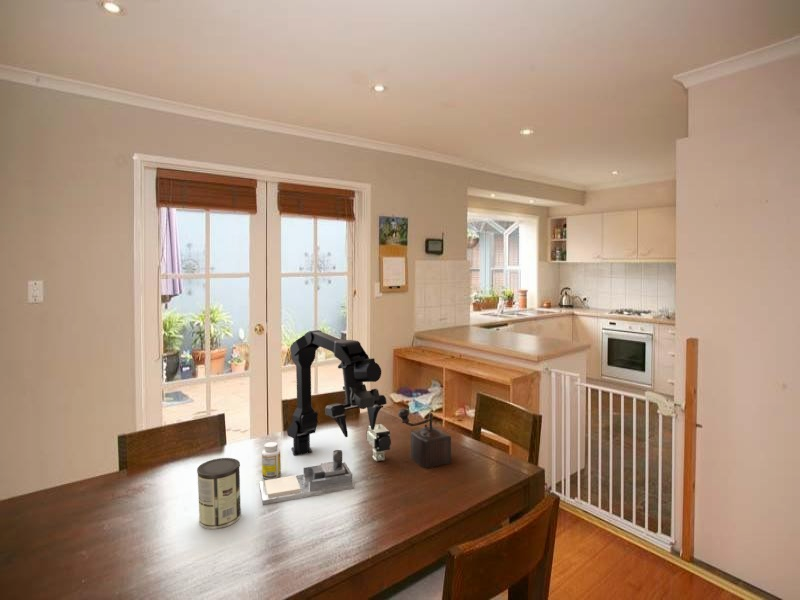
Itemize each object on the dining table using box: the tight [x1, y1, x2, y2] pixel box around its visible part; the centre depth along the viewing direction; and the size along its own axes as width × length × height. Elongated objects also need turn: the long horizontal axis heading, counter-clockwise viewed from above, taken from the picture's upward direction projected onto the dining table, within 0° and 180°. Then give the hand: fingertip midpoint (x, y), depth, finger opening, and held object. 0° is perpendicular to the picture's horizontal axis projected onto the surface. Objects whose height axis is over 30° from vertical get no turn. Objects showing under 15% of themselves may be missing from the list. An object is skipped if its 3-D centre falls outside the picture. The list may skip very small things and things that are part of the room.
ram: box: [312, 449, 345, 480], centre depth 138 cm, size 7×9×8 cm
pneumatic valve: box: [365, 422, 392, 463], centre depth 156 cm, size 6×12×12 cm, turn 23°
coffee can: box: [196, 457, 242, 530], centre depth 119 cm, size 10×10×14 cm
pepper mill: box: [397, 407, 452, 469], centre depth 154 cm, size 16×11×18 cm
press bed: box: [264, 474, 300, 497], centre depth 134 cm, size 9×9×1 cm
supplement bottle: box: [261, 441, 282, 480], centre depth 143 cm, size 6×6×10 cm
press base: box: [259, 461, 355, 505], centre depth 136 cm, size 12×26×4 cm, turn 111°
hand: (359, 433), depth 140 cm, fingers open, 9 cm apart
